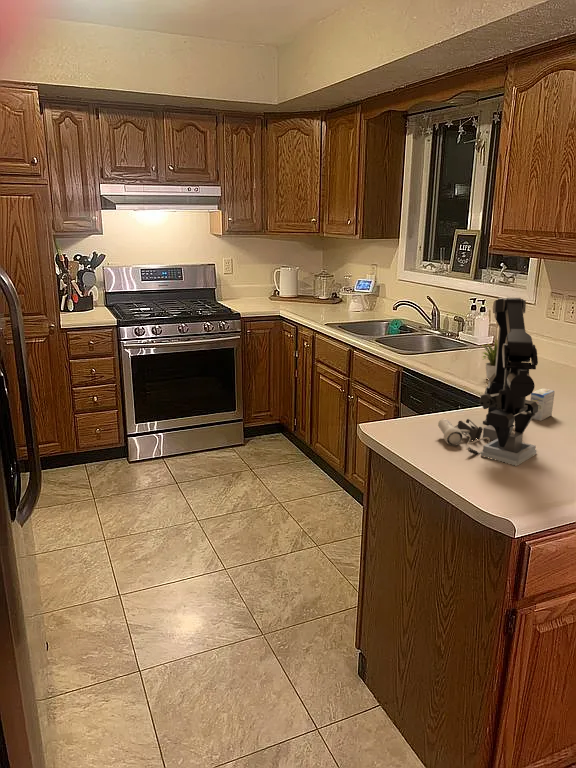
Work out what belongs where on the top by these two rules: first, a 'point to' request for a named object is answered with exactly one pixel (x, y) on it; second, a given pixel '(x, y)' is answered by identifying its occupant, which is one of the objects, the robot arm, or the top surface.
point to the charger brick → (513, 442)
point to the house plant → (490, 359)
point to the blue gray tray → (508, 453)
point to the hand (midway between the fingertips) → (509, 442)
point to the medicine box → (543, 403)
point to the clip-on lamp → (461, 432)
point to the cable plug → (490, 432)
